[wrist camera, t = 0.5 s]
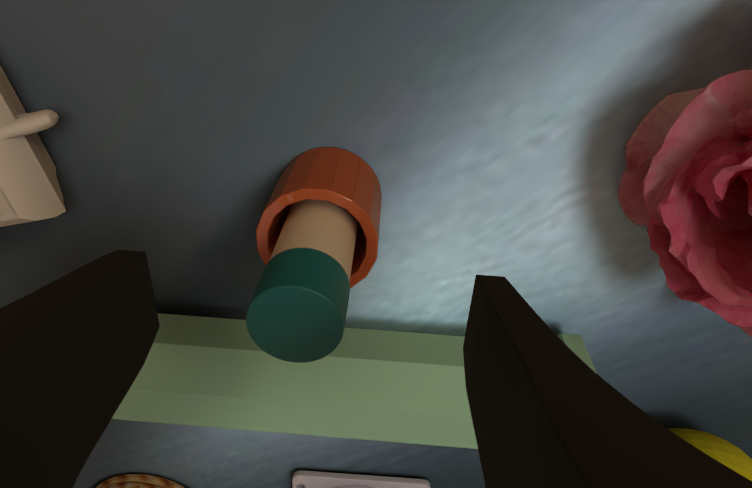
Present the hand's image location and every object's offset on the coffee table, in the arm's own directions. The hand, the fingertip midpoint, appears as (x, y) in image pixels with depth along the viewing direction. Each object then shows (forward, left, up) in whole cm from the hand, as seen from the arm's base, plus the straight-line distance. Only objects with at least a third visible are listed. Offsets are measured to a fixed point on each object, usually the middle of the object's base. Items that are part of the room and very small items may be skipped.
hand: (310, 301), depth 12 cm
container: (-10, +2, -11) cm, 15 cm away
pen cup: (-2, +1, -10) cm, 10 cm away
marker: (-2, +1, -10) cm, 10 cm away
